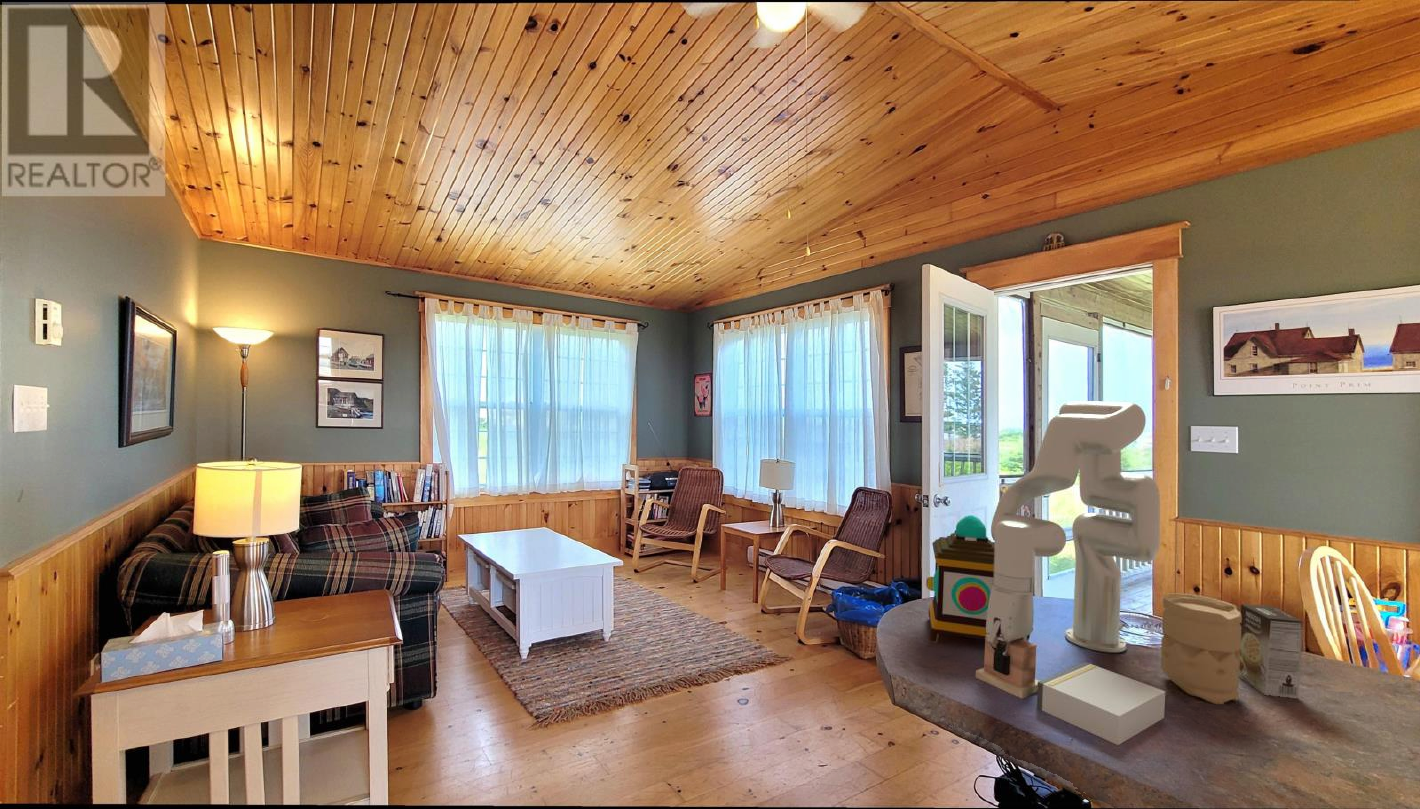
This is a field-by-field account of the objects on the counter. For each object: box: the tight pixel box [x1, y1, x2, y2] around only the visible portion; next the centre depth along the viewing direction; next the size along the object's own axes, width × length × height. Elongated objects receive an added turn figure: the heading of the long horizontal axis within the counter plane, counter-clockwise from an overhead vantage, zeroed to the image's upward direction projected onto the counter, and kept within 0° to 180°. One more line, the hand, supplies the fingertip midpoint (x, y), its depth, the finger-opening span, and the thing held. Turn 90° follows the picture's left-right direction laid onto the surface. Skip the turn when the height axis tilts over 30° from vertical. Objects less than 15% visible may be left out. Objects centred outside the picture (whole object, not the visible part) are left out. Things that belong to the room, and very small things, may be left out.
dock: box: [1036, 661, 1166, 746], centre depth 114 cm, size 18×14×5 cm
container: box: [1160, 592, 1242, 705], centre depth 124 cm, size 13×13×18 cm
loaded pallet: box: [975, 634, 1040, 699], centre depth 124 cm, size 8×10×9 cm
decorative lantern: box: [925, 514, 995, 644], centre depth 149 cm, size 20×20×30 cm
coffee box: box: [1239, 603, 1304, 699], centre depth 127 cm, size 9×6×16 cm
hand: (1009, 668), depth 124 cm, fingers closed on loaded pallet, 5 cm apart
